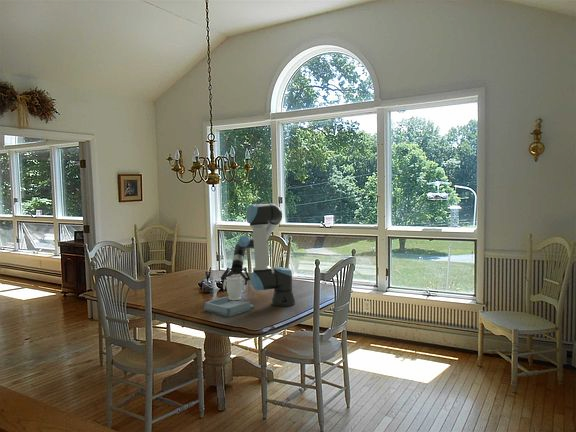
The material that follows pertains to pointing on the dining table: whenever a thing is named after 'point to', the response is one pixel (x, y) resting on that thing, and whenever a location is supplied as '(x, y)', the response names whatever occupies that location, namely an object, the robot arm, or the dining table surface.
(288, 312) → the dining table surface
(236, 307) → the tray
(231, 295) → the jar
